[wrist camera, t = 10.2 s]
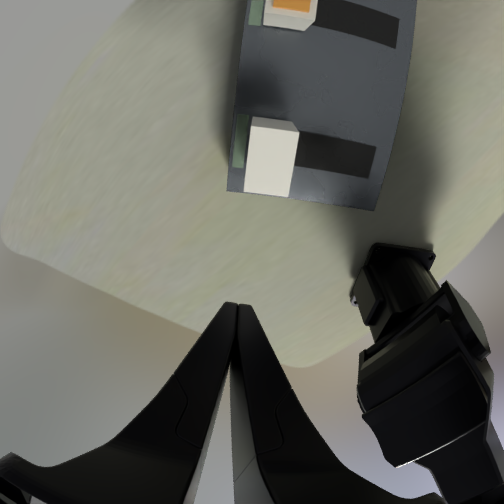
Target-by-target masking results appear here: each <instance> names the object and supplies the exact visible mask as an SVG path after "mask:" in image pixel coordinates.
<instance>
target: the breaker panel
mask: <svg viewBox="0 0 504 504" xmlns="http://www.w3.org/2000/svg"><path fill="white" fill-rule="evenodd" d="M265 3H266V0H248V1H247V8H246V15H245V22H244V30H243V38H242V45H241V54H240V62H239V70H238V79H237V88H236V97H235V106H234V116H233V125H232V135H231V146H230V157H229V168H228V179H227V191H230V192H240V193H249V194H258V193H250V192H244V183H245V174H246V165H247V156H248V148H249V139H250V131H251V124H252V118H253V117H262V118H270V119H277V120H284V121H291V122H293V124H294V125H295V127H296V128H297V130H298V131H299V138H298V144H297V150H296V156H295V161H294V167H293V173H292V178H291V184H290V190H289V195H288V197H283V196H275V195H267V194H258V195H267V196H275V197H283V198H290V199H298V200H305V201H312V202H319V203H326V204H332V205H339V206H345V207H351V208H357V209H363V210H369V211H374V209H375V206H376V203H377V200H378V196H379V193H380V190H381V186H382V183H383V180H384V176H385V173H386V169H387V165H388V162H389V158H390V154H391V150H392V146H393V142H394V138H395V134H396V130H397V126H398V121H399V117H400V112H401V107H402V103H403V98H404V93H405V87H406V82H407V76H408V70H409V64H410V57H411V50H412V43H413V35H414V26H415V16H416V4H417V0H318V2H317V10H316V18H315V21H314V22H313V23H312V24H311V25H310V26H309V27H308V28H307V29H306V30H305V31H301V30H296V29H289V28H283V27H276V26H268V25H263V23H264V10H265Z"/></svg>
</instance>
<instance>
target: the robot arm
mask: <svg viewBox="0 0 504 504" xmlns="http://www.w3.org/2000/svg"><path fill="white" fill-rule="evenodd" d="M378 248H379V250H377V251H375V250H376V249H378ZM430 256H431V257H430ZM435 257H436V255H435V254H434V252H433V251H431V250H425V249H418V248H411V247H404V246H398V245H391V244H384V243H375V244H373V245H372V247H371V249H370V252H369V255H368V257H367V260H366V262H365V265H364V266H363V267H362V268H361V271H360V274H359V276H358V278H357V281H356V283H355V286H354V288H353V294H352V296H351V299H350V301H351V304H352V306H358V307H359V310H360V313H361V316H362V319H363V323H364V324H365V326H369V327H370V330H371V333H372V336H373V339H374V343H375V344H373V345H372V346H371V347H369V348H368V349H365V350H363V351H362V352H361V353H360V354H359V371H358V384H357V398H358V403H359V405H360V408H361V410H362V412H363V413H364V414H362V418H363V419H364V421H365V422H366V423H367V424H368V425H369V426H370V428H371V429H372V431H373V432H374V434H375V436H376V437H377V440H378V442H379V444H380V447H381V449H382V452H383V455H384V458H385V459H386V460H387V461H388V462H389V463H390V464H391V465H393V466H394V467H396V468H398V467H401V466H403V465H405V464H408V463H410V462H414V463H416V464H418V465H420V466H422V467H424V468H427V469H428V470H429V471H430V472H431V474H432V476H433V478H434V480H435V482H436V484H437V486H438V488H439V491H440V493H441V495H442V497H443V498H442V497H440V496H439V495H438V494H436V493H434V492H433V493H429V494H426V495H424V496H421V497H418V498H414V499H405V498H401V497H398V496H395V495H393V494H391V493H389V492H388V491H386V490H384V489H382V488H380V487H378V486H377V485H375V484H373V483H371V482H369V481H368V480H366V479H364V478H363V477H361V476H359V475H357V474H356V473H354V472H353V471H351V470H349V469H348V468H347V467H346V466H344V465H343V464H342V463H341V462H340V461H339V459H338V458H337V457H336V456H335V454H334V453H333V452H332V450H331V449H330V448H329V446H328V445H327V443H326V442H325V441H324V439H323V438H322V436H321V435H320V434H319V432H318V431H317V429H316V428H315V427H314V425H313V423H312V422H311V420H310V419H309V417H308V416H307V414H306V413H305V411H304V409H303V408H302V406H301V404H300V402H299V400H298V398H297V397H296V394H295V392H294V391H293V389H291V385H290V383H289V381H288V379H287V377H286V375H285V373H284V371H283V369H282V367H281V365H280V363H279V361H278V359H277V357H276V355H275V353H274V351H273V349H272V347H271V345H270V343H269V341H268V338H267V336H266V334H265V332H264V330H263V328H262V326H261V324H260V322H259V320H258V318H257V316H256V314H255V312H254V310H253V308H252V306H251V305H247V304H239V305H238V304H237V303H233V302H225V303H224V304H223V305H222V307H221V308H220V309H219V311H218V312H217V314H216V315H215V316H214V318H213V319H212V321H211V322H210V323H209V325H208V326H207V327H206V329H205V330H204V332H203V333H202V334H201V336H200V337H199V339H198V340H197V341H196V343H195V344H194V345H193V347H192V348H191V350H190V351H189V352H188V354H187V355H186V356H185V358H184V359H183V361H182V362H181V363H180V365H179V366H178V368H177V369H176V370H175V372H174V374H172V376H171V377H170V378H169V380H168V381H167V382H166V384H165V385H164V386H163V387H162V389H161V390H160V391H159V393H158V394H157V395H156V396H155V397H154V398H153V400H152V401H151V402H150V403H149V404H148V405H147V406H146V407H145V408H144V409H143V410H142V411H141V412H140V413H139V414H138V415H137V416H136V417H135V418H134V419H133V420H132V421H131V422H130V423H129V424H128V425H127V426H126V427H125V428H124V429H123V430H122V431H121V432H120V433H119V434H117V435H116V436H115V437H114V438H113V439H111V440H110V441H109V442H107V443H106V444H104V445H102V446H100V447H98V448H96V449H94V450H91V451H89V452H87V453H85V454H82V455H80V456H78V457H76V458H73V459H71V460H69V461H66V462H64V463H61V464H59V465H56V466H52V467H41V466H37V465H34V464H32V463H30V462H28V461H27V460H25V459H23V458H22V457H20V456H18V455H16V454H14V453H12V452H10V453H9V454H7V455H5V456H4V457H2V458H1V459H0V504H193V503H194V499H195V496H196V492H197V488H198V485H199V481H200V477H201V473H202V470H203V466H204V462H205V458H206V454H207V450H208V447H209V443H210V439H211V435H212V432H213V428H214V424H215V420H216V416H217V412H218V408H219V405H220V401H221V397H222V393H223V389H224V386H225V382H226V378H227V374H228V369H229V365H230V408H231V437H232V460H233V461H232V462H233V482H234V501H235V504H504V450H503V447H502V445H501V443H500V440H499V438H498V436H497V433H496V431H495V429H494V427H493V424H492V422H491V409H492V399H493V385H494V373H493V370H492V369H491V367H490V365H489V363H488V361H487V359H486V357H487V356H488V355H489V354H490V353H491V351H490V347H489V344H488V341H487V337H486V334H485V331H484V328H483V325H482V323H481V321H480V320H479V318H478V317H477V315H476V313H475V312H474V310H473V309H472V307H471V306H470V305H469V303H468V302H467V301H466V300H465V299H464V298H463V297H462V296H461V295H460V293H459V292H458V291H457V290H456V289H455V288H453V286H452V285H451V284H450V283H449V282H448V281H447V280H446V281H445V282H444V283H443V284H442V285H441V286H442V287H441V288H440V287H439V285H438V283H437V282H436V280H435V279H434V277H433V275H432V274H431V272H430V271H429V270H430V268H431V266H432V264H433V262H434V260H435Z"/></svg>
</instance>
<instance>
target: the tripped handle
mask: <svg viewBox="0 0 504 504" xmlns="http://www.w3.org/2000/svg"><path fill="white" fill-rule="evenodd" d="M317 2H318V0H266V3H265V10H264V23H263V25H268V26H276V27H283V28H289V29H296V30H301V31H305V30H306V29H307V28H308V27H309V26H310V25H311V24H312V23H313V22H314V21H315V18H316V10H317Z"/></svg>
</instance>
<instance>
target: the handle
mask: <svg viewBox="0 0 504 504" xmlns="http://www.w3.org/2000/svg"><path fill="white" fill-rule="evenodd" d="M298 138H299V131H298V130H297V128H296V127H295V125H294V124H293V122H291V121H284V120H277V119H270V118H262V117H253V118H252V124H251V131H250V139H249V148H248V156H247V165H246V174H245V183H244V192H250V193H258V194H267V195H275V196H283V197H288V195H289V190H290V184H291V178H292V173H293V167H294V161H295V156H296V150H297V144H298Z"/></svg>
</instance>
